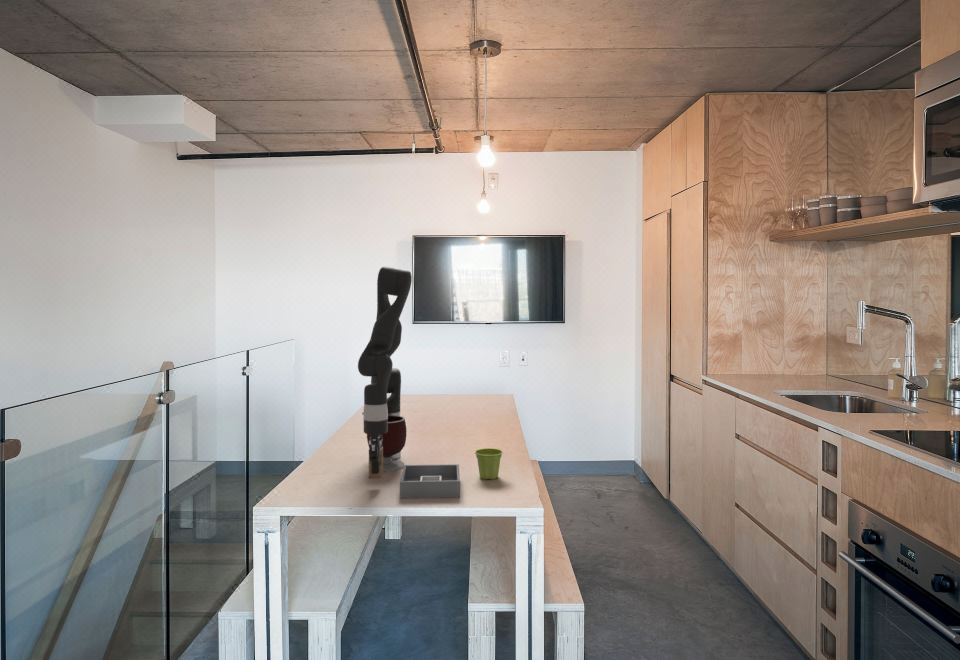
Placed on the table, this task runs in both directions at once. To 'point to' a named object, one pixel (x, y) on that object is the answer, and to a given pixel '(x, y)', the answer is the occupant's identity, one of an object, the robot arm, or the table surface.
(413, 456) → the table surface
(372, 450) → the robot arm
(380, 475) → the brown block
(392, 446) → the mate gourd
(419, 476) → the grey square tray
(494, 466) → the plant pot
